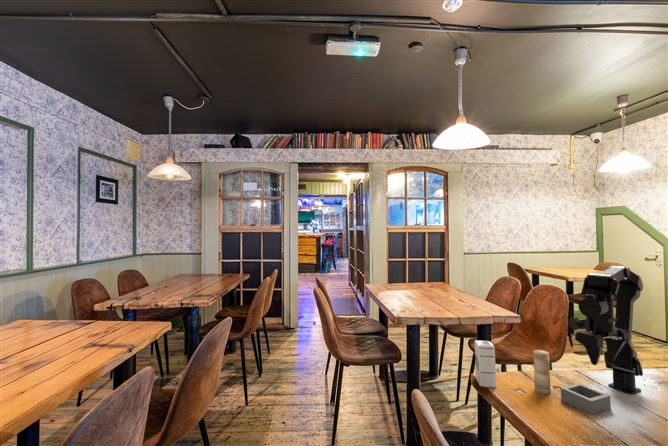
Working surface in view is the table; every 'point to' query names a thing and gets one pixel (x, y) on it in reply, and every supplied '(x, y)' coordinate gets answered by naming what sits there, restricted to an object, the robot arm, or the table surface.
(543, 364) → the wooden peg
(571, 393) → the square sleeve socket
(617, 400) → the table surface
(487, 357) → the syrup box
